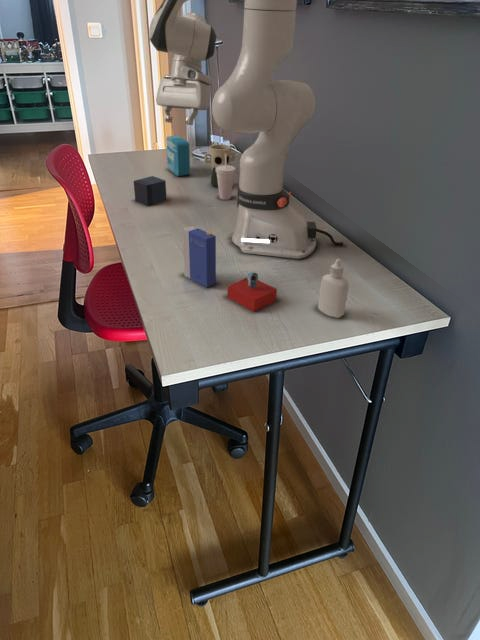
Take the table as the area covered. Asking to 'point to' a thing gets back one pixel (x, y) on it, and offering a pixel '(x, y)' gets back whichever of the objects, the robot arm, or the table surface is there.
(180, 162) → the data package
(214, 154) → the character mug
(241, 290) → the red slab
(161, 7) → the robot arm
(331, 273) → the eye dropper bottle
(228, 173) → the smoothie
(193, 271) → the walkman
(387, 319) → the table surface
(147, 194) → the bin
